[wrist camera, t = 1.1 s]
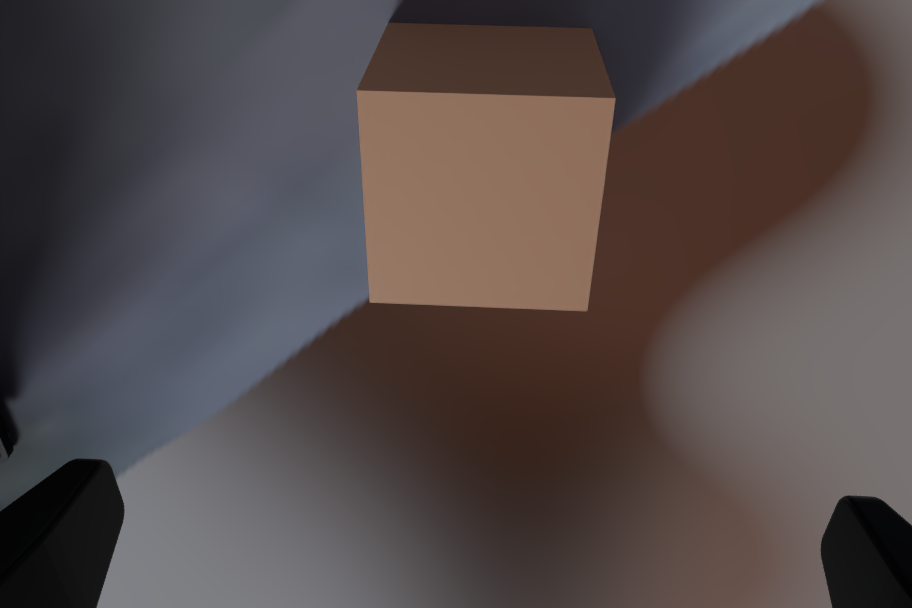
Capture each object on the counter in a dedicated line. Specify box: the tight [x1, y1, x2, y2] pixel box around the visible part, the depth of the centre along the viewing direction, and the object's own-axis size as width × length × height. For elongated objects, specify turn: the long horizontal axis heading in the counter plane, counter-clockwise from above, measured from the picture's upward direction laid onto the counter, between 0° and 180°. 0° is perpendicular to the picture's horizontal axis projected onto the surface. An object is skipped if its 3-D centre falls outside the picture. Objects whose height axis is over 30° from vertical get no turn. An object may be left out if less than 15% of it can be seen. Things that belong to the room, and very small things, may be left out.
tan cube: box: [357, 23, 616, 311], centre depth 18 cm, size 5×5×5 cm
